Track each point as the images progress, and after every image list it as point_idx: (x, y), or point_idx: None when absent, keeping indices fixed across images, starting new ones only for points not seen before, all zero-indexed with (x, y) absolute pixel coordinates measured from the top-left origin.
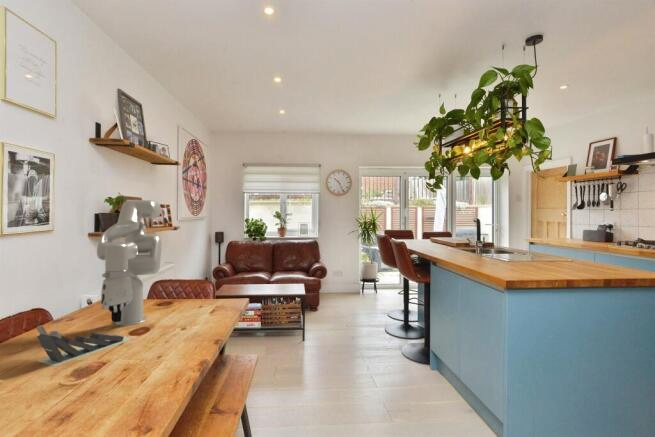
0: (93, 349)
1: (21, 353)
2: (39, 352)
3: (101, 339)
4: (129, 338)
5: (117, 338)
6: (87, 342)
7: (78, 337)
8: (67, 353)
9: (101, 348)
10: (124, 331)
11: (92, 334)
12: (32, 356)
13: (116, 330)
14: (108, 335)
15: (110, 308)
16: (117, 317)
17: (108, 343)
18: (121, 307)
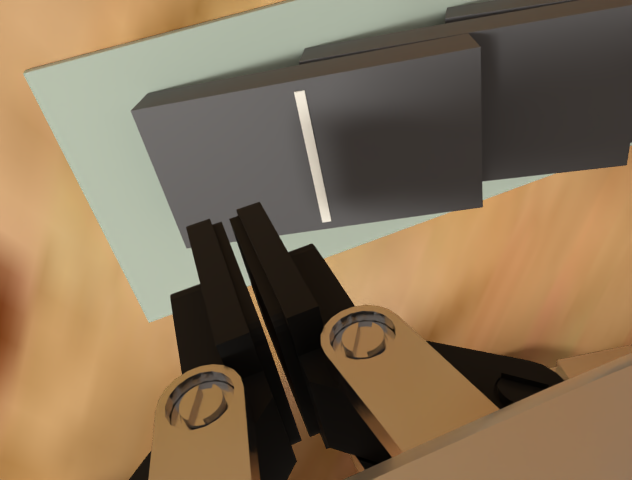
0: (455, 7)
1: (613, 335)
2: (579, 296)
3: (421, 42)
4: (54, 125)
5: (215, 88)
6: (571, 3)
7: (629, 114)
8: None
9: (378, 17)
10: (45, 414)
11: (478, 173)
12: (625, 252)
13: (103, 468)
14: (345, 81)
15: (526, 375)
16: (275, 240)
17: (314, 50)
18: (217, 440)
